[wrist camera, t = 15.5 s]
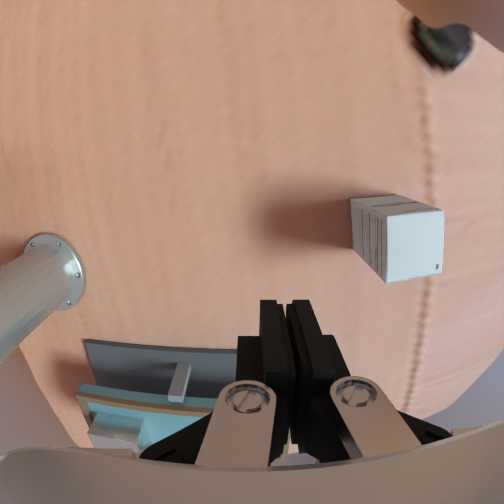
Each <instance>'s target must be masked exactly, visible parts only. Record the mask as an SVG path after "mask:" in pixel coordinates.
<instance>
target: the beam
mask: <svg viewBox="0 0 504 504" xmlns="http://www.w3.org/2000/svg"><path fill="white" fill-rule="evenodd" d="M75 396H76V398H77V401H78V403H79V406H80V408H81V410H82V413H83V415H84V417H85V420H86V422H87V424H88V426H89V428H90V426H91V424H92V422H93V420H94V418H95V416H96V415H97V413H98V412H102V413H107V414H113V415H119V416H125V417H132V418H139V419H144V420H145V423H146V426H147V429H148V432H149V435H150V438H151V441H152V444H154V443H156V442H158V441H160V440H162V439H164V438H166V437H168V436H170V435H172V434H174V433H175V432H177V431H179V430H181V429H183V428H185V427H187V426H188V425H190V424H192V423H194V422H196V421H197V420H199V419H201V418H203V417H204V416H206V415H208V414H210V413H211V412H213V411H214V408H215V405H216V403H217V400H218V399H214V398H196V397H184V400H183V403H182V402H170V401H169V400H168V395H160V394H151V393H143V392H135V391H127V390H120V389H114V388H107V387H101V386H96V385H90V384H85V383H82V385H81V386H80V388H79V389H78V391H77V392H76V394H75ZM289 441H290V428H289V434H288V441H287V445H284V449H283V454H281V455H280V456H279V457H278V458H277V459H275V460H274V461H273V462H278V461H286V459H287V454H288V447H289Z"/></svg>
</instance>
